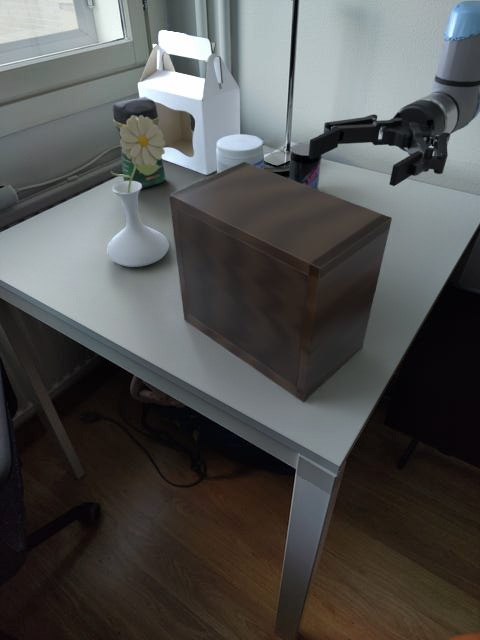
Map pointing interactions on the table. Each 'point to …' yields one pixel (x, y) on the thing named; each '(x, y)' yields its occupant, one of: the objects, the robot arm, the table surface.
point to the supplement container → (304, 166)
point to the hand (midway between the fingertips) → (350, 162)
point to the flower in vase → (136, 239)
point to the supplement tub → (239, 151)
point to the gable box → (191, 101)
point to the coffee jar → (120, 117)
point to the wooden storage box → (277, 272)
